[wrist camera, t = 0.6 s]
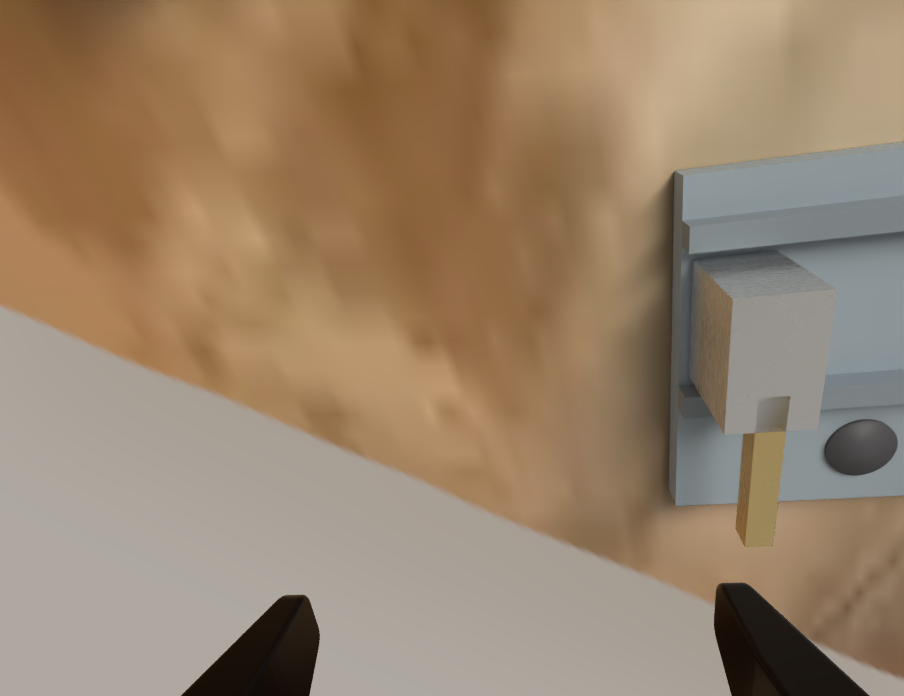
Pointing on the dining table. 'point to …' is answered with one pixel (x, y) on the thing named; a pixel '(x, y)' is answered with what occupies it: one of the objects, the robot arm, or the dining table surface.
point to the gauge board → (854, 324)
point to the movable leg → (760, 365)
